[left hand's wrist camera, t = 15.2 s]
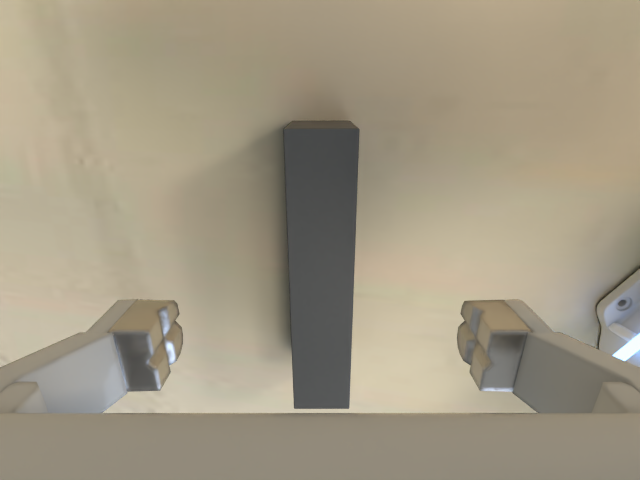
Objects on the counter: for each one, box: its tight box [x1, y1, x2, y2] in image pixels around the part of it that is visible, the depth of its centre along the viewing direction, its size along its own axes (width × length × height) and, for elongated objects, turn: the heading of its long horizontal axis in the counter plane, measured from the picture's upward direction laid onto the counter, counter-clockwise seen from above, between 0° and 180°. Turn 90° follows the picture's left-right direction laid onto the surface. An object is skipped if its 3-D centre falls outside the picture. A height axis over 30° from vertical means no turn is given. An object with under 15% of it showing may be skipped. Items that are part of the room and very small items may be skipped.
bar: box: [283, 121, 359, 409], centre depth 33 cm, size 26×5×8 cm, turn 0°
